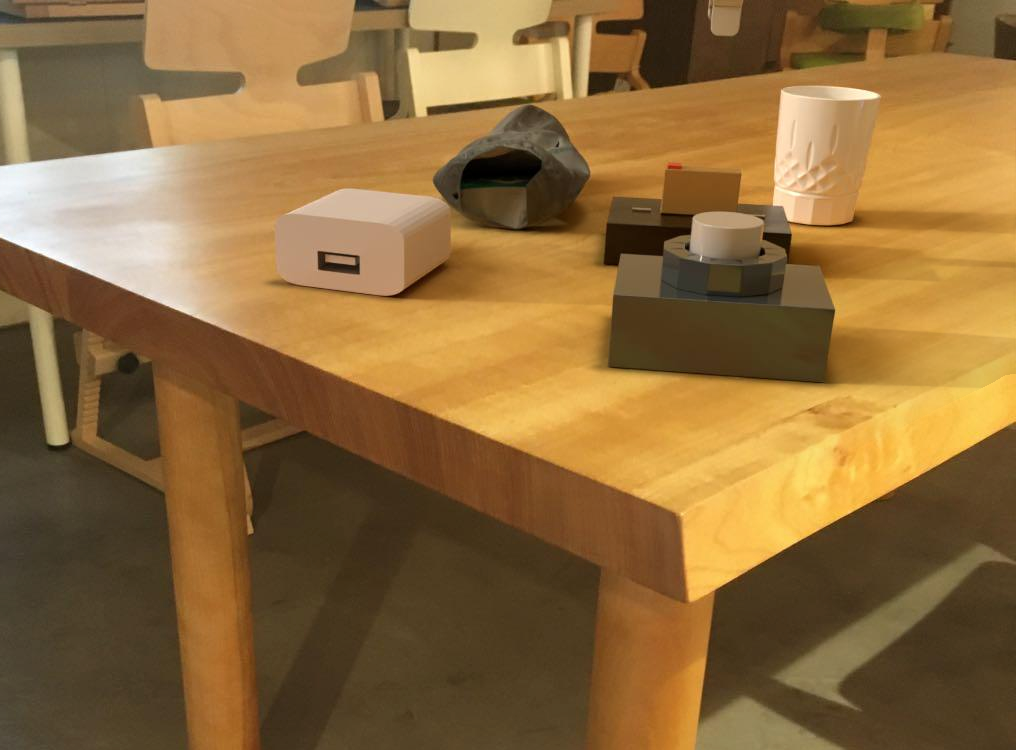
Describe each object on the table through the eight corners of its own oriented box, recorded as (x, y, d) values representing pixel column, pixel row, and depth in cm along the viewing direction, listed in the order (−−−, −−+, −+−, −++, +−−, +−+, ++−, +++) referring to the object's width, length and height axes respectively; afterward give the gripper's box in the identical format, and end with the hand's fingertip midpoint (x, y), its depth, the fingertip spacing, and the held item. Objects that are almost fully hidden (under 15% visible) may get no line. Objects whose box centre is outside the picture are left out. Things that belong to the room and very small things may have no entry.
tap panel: (777, 243, 97) (783, 202, 95) (786, 277, 88) (793, 232, 87) (610, 233, 98) (613, 193, 97) (603, 265, 90) (606, 221, 88)
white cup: (822, 203, 110) (840, 84, 105) (879, 224, 103) (902, 98, 99) (746, 209, 107) (761, 87, 102) (801, 230, 101) (820, 101, 96)
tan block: (735, 213, 92) (741, 165, 91) (736, 217, 91) (742, 169, 89) (660, 209, 93) (665, 161, 91) (660, 213, 92) (664, 165, 90)
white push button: (757, 248, 73) (762, 213, 72) (761, 266, 69) (766, 229, 68) (688, 244, 73) (692, 209, 72) (688, 262, 70) (692, 225, 69)
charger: (478, 246, 94) (403, 298, 81) (366, 233, 97) (276, 282, 84) (480, 181, 92) (403, 225, 79) (365, 170, 94) (273, 211, 82)
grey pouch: (579, 237, 96) (611, 169, 118) (577, 141, 93) (610, 89, 114) (414, 239, 99) (475, 172, 120) (406, 146, 96) (470, 94, 117)
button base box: (809, 332, 77) (824, 236, 74) (823, 382, 69) (841, 276, 66) (615, 319, 79) (623, 224, 76) (607, 366, 71) (615, 262, 68)
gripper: (815, -221, 69) (778, 46, 75) (788, -196, 87) (760, 17, 93) (700, -224, 70) (674, 41, 76) (697, -199, 88) (675, 13, 94)
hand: (721, 28), depth 85 cm, fingers open, 8 cm apart
